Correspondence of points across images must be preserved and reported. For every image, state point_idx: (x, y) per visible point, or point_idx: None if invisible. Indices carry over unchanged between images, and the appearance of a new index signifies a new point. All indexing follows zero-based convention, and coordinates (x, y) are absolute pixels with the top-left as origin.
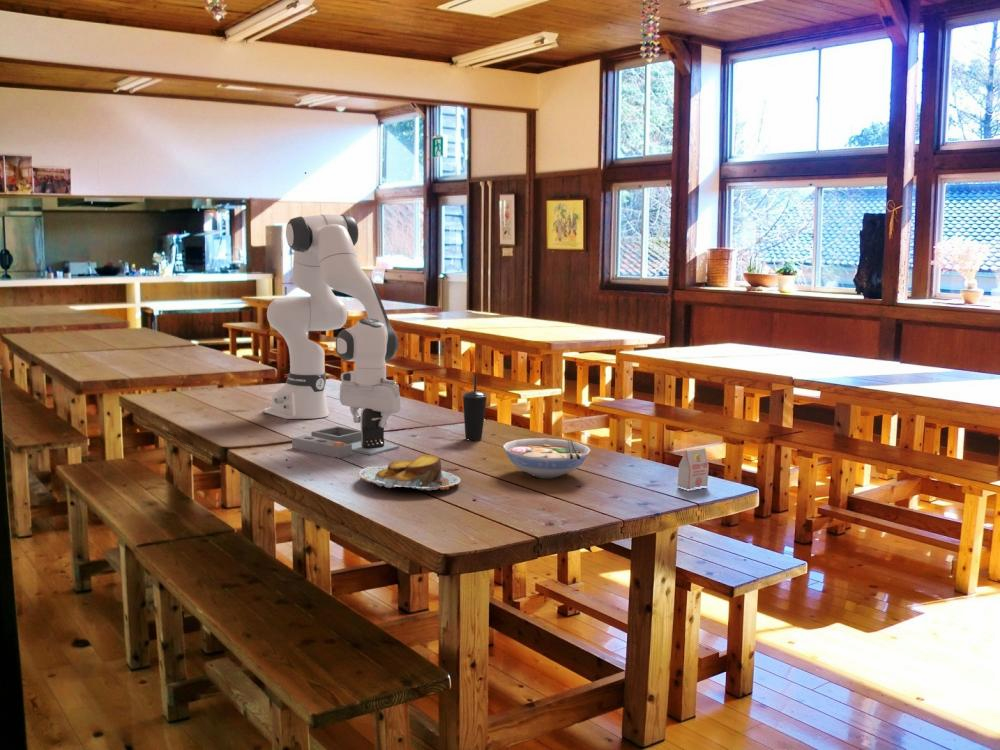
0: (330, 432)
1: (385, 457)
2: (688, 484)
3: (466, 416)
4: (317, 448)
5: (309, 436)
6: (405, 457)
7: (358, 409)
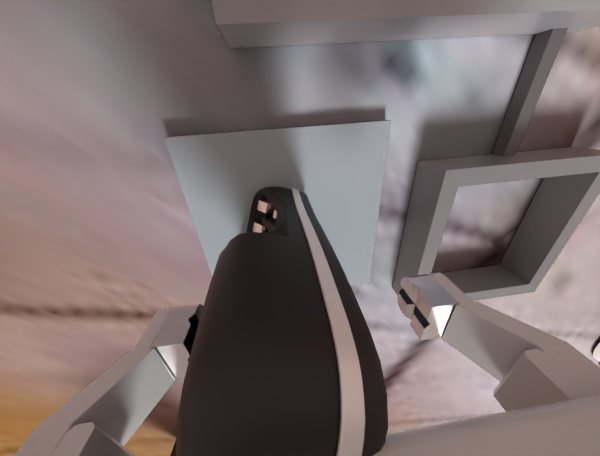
0: (531, 243)
1: (87, 159)
2: None
3: None
4: None
5: None
6: (50, 228)
7: (494, 392)
